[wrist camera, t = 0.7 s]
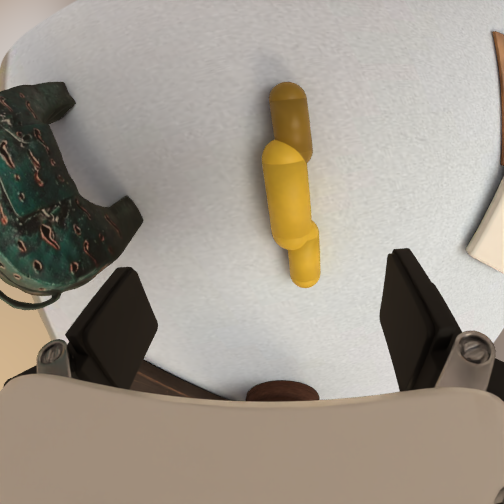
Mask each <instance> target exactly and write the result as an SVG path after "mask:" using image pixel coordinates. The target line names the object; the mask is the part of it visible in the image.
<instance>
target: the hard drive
mask: <svg viewBox="0 0 504 504" xmlns="http://www.w3.org/2000/svg"><path fill="white" fill-rule="evenodd" d="M466 251H467V252H468V254H469V255H470V256H472V257H473V258H475V259H477V260H479V261H481V262H483V263H485V264H487V265H489V266H490V267H492V268H494V269H496V270H498V271H500V272H502V273H503V274H504V176H503V178H502V181H501V183H500V185H499V187H498V190H497V192H496V194H495V196H494V198H493V200H492V202H491V204H490V206H489V208H488V210H487V212H486V214H485V216H484V218H483V220H482V221H481V223H480V225H479V227H478V229H477V231H476V232H475V234H474V236H473V238H472V239H471V241H470V243H469V244H468V246H467V248H466Z"/></svg>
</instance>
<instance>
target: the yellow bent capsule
mask: <svg viewBox="0 0 504 504" xmlns="http://www.w3.org/2000/svg"><path fill="white" fill-rule="evenodd" d="M269 104H270V111H271V118H272V125H273V132H274V139H275V140H273V141H271V142H270V143H268V144H267V145H266V147H265V149H264V151H263V153H262V166H263V173H264V180H265V187H266V194H267V202H268V209H269V216H270V224H271V231H272V236H273V238H274V240H275V242H276V243H277V244H278V245H279V246H280V247H282V248H284V249H287V250H288V257H289V267H290V276H291V279H292V281H293V282H294V283H295V284H296V285H297V286H299V287H301V288H309V287H312V286H313V285H315V284H316V283H317V282H318V280H319V278H320V247H319V231H318V227H317V225H316V224H315V223H314V222H313V221H312V220H311V206H310V193H309V182H308V171H307V163H308V162H309V160H310V159H311V156H312V153H313V148H312V139H311V130H310V121H309V113H308V105H307V98H306V94H305V92H304V90H303V89H302V88H301V87H300V86H299V85H297V84H295V83H292V82H283V83H280V84H278V85H276V86H275V87H274V88H273V89H272V90H271V92H270V95H269Z"/></svg>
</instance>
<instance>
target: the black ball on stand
mask: <svg viewBox="0 0 504 504" xmlns="http://www.w3.org/2000/svg"><path fill="white" fill-rule="evenodd" d="M314 400H319V395H318V393H317V392H316V391H315V390H314V389H313V388H312V387H310V386H308V385H305V384H302V383H299V382H294V381H270V382H265V383H262V384H259V385H256V386H255V387H253V388H251V389H250V390H249V391H248V393H247V395H246V401H251V402H288V401H314Z"/></svg>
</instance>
